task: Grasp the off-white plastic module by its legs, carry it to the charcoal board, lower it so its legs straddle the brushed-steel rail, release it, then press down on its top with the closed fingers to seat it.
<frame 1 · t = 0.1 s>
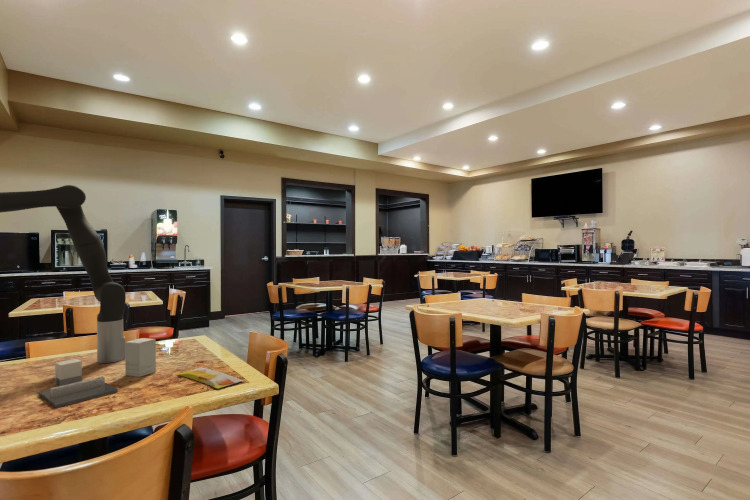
supplement box: (140, 374, 144), on the table
rail board: (78, 393, 124), on the table
module: (68, 384, 133), on the table
food package: (209, 380, 138), on the table
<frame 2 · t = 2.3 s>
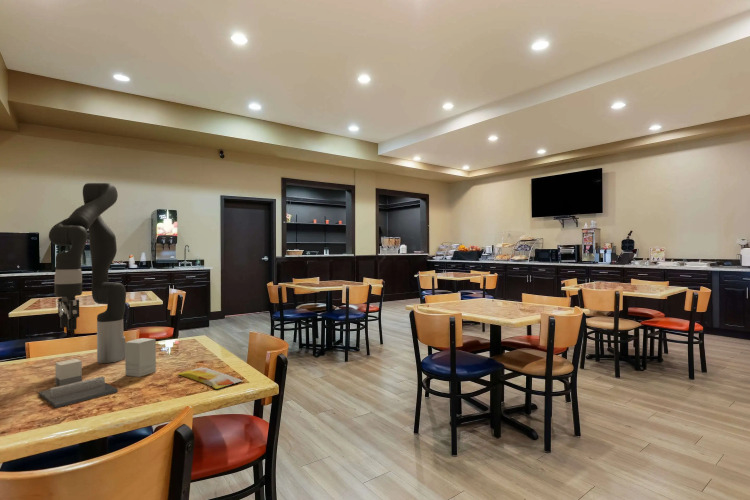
hand: (68, 328, 133), 19 cm above the table, fingers open, 8 cm apart
nothing on the table moved.
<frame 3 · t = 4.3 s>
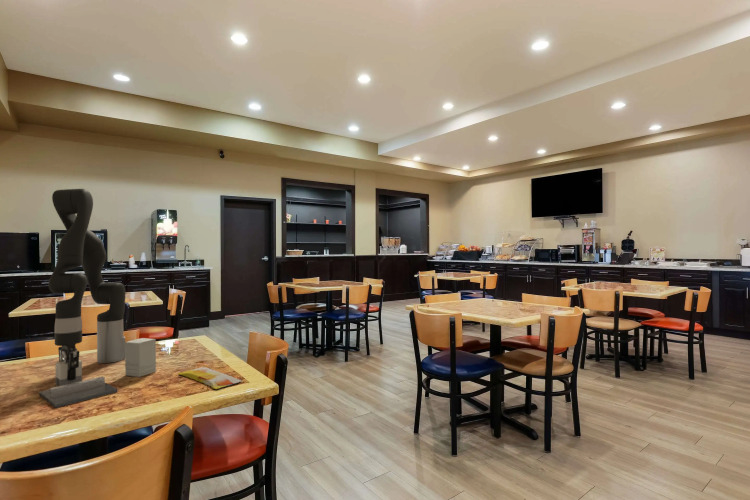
hand: (68, 378, 133), 2 cm above the table, fingers closed on module, 5 cm apart
module: (68, 384, 133), on the table, touching gripper
everything else where it was.
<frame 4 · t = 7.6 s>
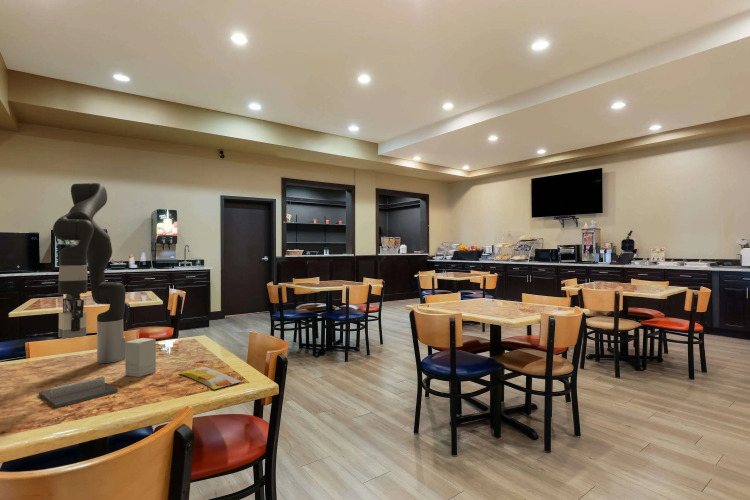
hand: (72, 330, 126), 20 cm above the table, fingers closed on module, 5 cm apart
module: (72, 336, 126), point 18 cm above the table, touching gripper
everything else where it was.
when the fingers open (5 cm above the table, at t = 11.3 s): module drops 2 cm, resting on rail board.
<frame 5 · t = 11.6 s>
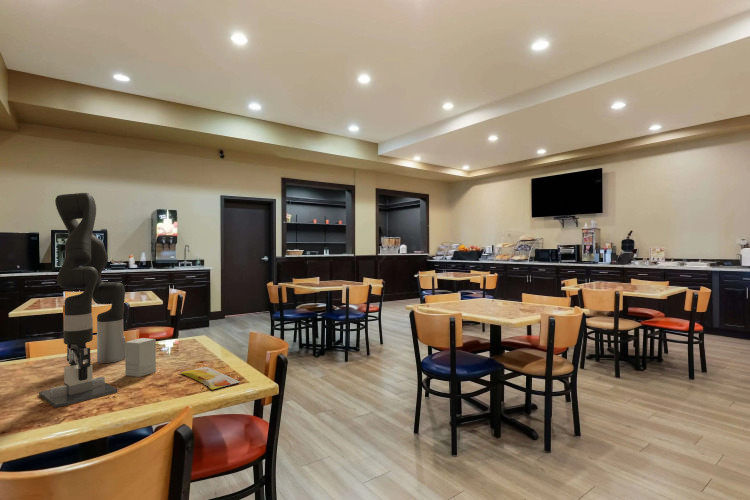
hand: (78, 377, 124), 5 cm above the table, fingers open, 8 cm apart
module: (78, 390, 124), point 1 cm above the table, touching rail board
everything else where it was.
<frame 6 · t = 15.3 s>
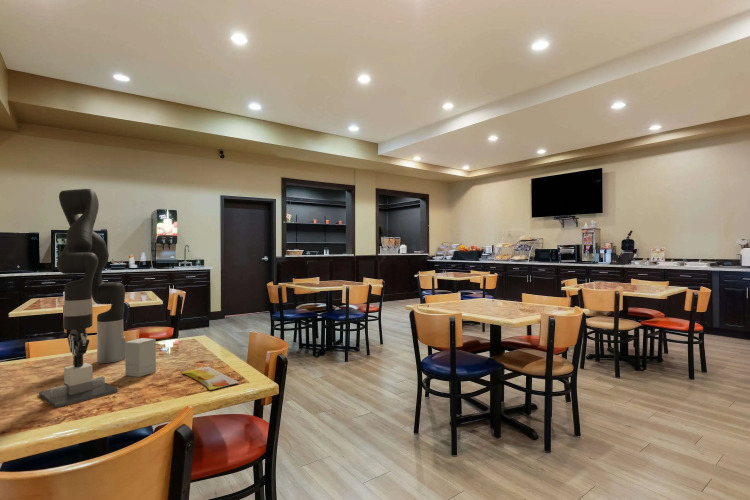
hand: (78, 366, 124), 9 cm above the table, fingers closed
module: (78, 390, 124), point 1 cm above the table, touching gripper, rail board
everything else where it was.
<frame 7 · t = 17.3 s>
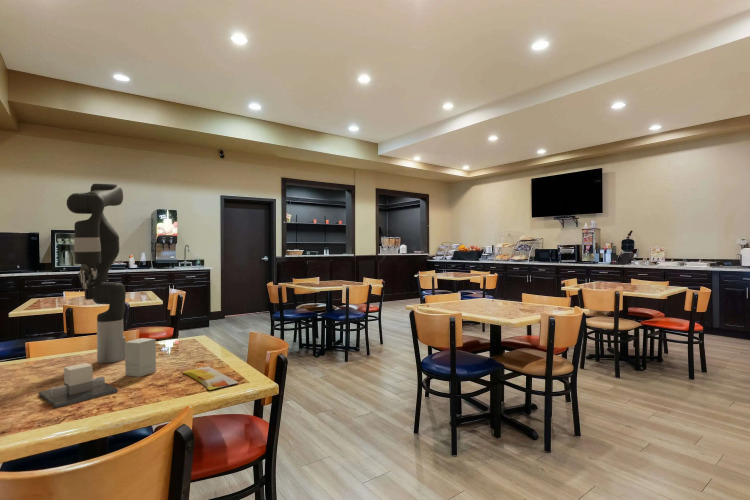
hand: (89, 299, 135), 29 cm above the table, fingers closed
module: (78, 390, 124), point 1 cm above the table, touching rail board
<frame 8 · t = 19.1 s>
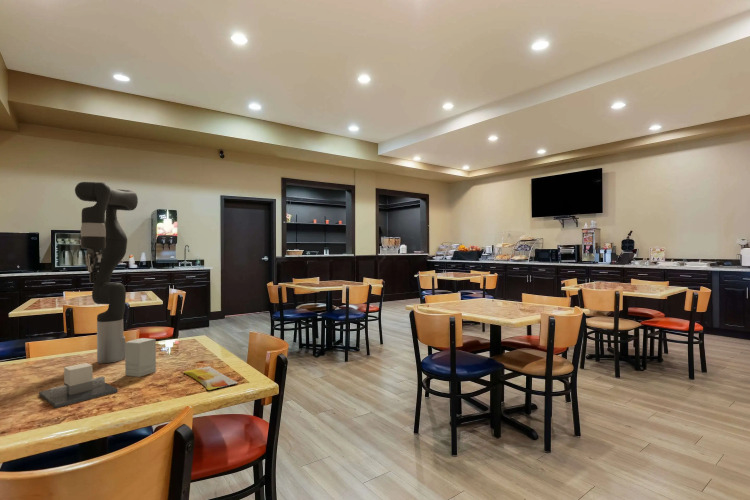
hand: (93, 282, 141), 35 cm above the table, fingers closed
nothing on the table moved.
at the end: module 0.0 cm off-centre on the rail board, point 1.0 cm above the rail board's base; module tilted 0°; the gripper is holding nothing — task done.
